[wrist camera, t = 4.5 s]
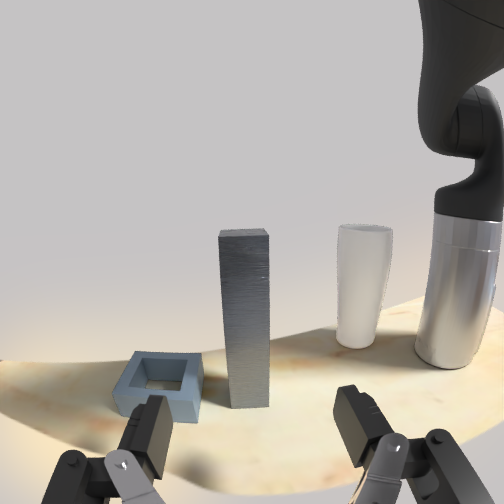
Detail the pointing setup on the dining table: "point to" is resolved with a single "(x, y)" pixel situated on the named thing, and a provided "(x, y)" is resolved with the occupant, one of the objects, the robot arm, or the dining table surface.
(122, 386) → the socket block
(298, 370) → the dining table surface
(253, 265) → the square bit
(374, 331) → the drinking glass
